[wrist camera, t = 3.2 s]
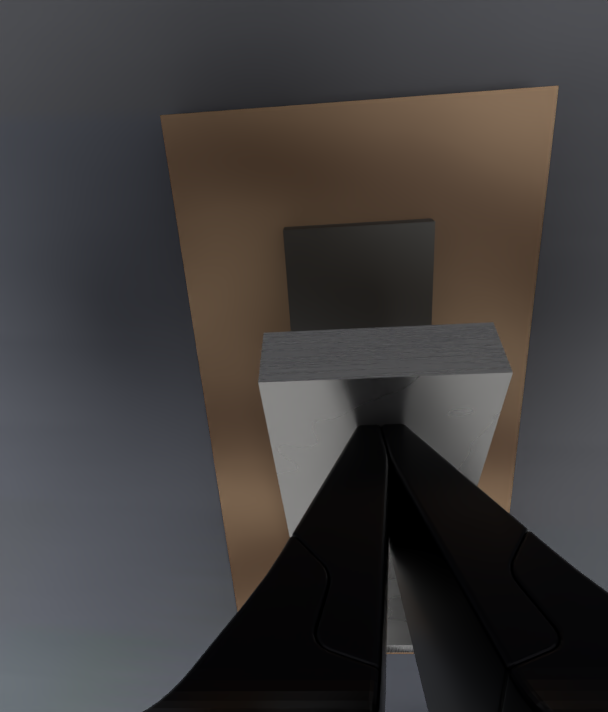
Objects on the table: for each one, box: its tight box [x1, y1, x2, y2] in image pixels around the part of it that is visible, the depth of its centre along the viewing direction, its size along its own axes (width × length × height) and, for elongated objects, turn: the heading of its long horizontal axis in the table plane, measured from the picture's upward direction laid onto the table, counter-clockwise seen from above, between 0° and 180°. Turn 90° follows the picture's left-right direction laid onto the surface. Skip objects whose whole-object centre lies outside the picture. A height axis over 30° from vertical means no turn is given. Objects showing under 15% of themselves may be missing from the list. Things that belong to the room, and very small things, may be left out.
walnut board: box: [160, 86, 559, 654], centre depth 16 cm, size 20×10×3 cm, turn 4°
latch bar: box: [258, 322, 513, 653], centre depth 13 cm, size 15×4×1 cm, turn 4°
